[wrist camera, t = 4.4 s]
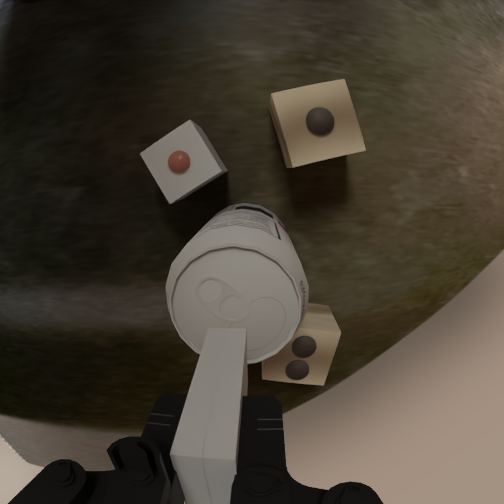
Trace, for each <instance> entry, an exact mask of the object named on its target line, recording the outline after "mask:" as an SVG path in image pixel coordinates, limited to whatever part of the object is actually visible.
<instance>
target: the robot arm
mask: <svg viewBox="0 0 504 504" xmlns="http://www.w3.org/2000/svg"><path fill="white" fill-rule="evenodd" d="M20 1H22V2H34V1H37V0H20ZM247 389H248V369H247V329H246V328H209V329H208V332H207V335H206V338H205V341H204V344H203V347H202V351H201V354H200V357H199V360H198V363H197V367H196V370H195V373H194V376H193V379H192V383H191V386H190V389H189V392H188V394H176V393H165V394H164V395H163V396H161V397H160V398H159V399H158V400H157V401H156V402H155V405H154V407H153V409H152V412H151V415H150V416H149V419H148V421H147V422H148V423H147V424H146V426H145V428H144V431H143V433H142V435H141V437H126V438H122V439H119V440H117V441H116V442H114V443H112V444H111V445H110V447H109V448H108V449H107V452H108V455H109V457H110V459H111V461H112V463H113V465H114V467H115V470H111V471H85V470H84V468H83V467H82V466H81V465H80V464H79V463H77V462H75V461H72V460H69V459H60V460H57V461H53V462H52V463H50V464H49V465H47V466H46V467H45V468H44V469H43V470H42V471H41V472H40V473H39V474H38V475H37V476H36V477H35V478H34V479H33V480H32V481H31V482H30V483H29V484H28V485H27V486H25V487H24V488H23V489H22V491H20V492H19V493H18V494H17V495H16V496H15V497H14V498H13V499H12V500H11V501H10V502H9V503H8V504H184V501H185V503H186V504H383V502H382V501H381V500H380V498H379V496H378V495H377V493H376V492H375V491H374V490H372V488H371V487H369V486H367V485H365V484H362V483H358V482H346V483H340V484H338V485H336V486H334V487H332V488H330V489H329V490H324V489H318V488H312V487H308V486H305V485H302V484H300V483H298V482H297V481H295V480H294V479H293V478H292V477H291V476H290V475H289V473H288V471H287V467H286V459H285V444H284V431H283V420H282V406H281V405H280V403H279V402H278V400H277V399H276V398H275V396H247Z"/></svg>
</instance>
